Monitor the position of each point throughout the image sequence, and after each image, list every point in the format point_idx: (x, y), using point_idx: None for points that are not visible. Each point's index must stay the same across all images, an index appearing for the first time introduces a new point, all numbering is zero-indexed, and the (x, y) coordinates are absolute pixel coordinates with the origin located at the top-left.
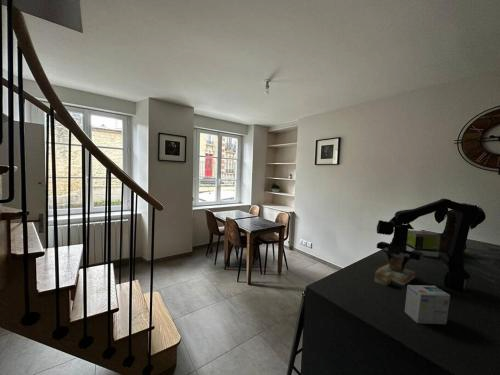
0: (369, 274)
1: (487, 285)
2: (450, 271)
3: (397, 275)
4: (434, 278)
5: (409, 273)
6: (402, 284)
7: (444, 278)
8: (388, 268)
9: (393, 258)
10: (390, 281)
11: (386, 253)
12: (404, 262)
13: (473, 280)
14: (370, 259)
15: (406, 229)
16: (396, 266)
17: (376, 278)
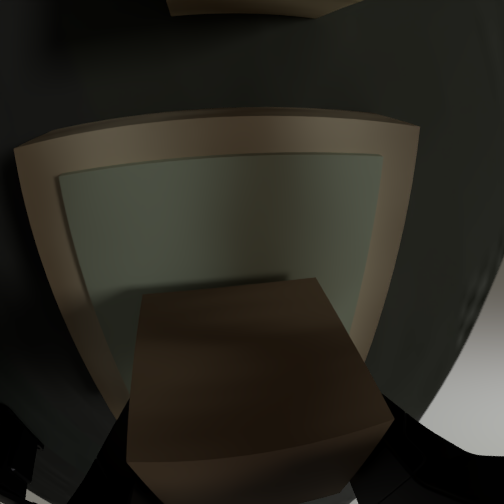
0: (418, 49)
1: (28, 484)
2: (3, 496)
3: (126, 165)
4: (92, 449)
5: (115, 378)
6: (68, 128)
7: (16, 451)
8: (320, 284)
9: (334, 463)
10: (169, 10)
11: (486, 457)
12: (111, 476)
13: (61, 493)
14: (442, 366)
15: None
16: (214, 339)
17: None
